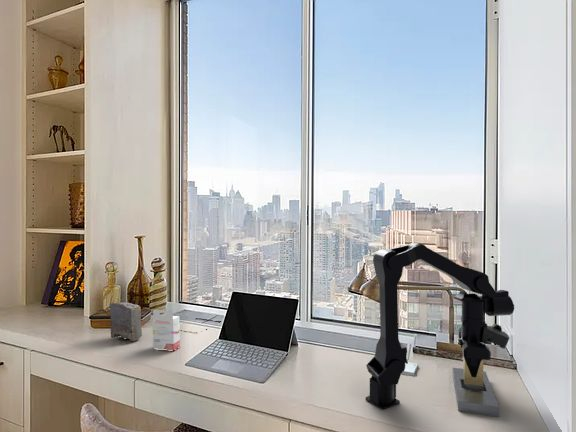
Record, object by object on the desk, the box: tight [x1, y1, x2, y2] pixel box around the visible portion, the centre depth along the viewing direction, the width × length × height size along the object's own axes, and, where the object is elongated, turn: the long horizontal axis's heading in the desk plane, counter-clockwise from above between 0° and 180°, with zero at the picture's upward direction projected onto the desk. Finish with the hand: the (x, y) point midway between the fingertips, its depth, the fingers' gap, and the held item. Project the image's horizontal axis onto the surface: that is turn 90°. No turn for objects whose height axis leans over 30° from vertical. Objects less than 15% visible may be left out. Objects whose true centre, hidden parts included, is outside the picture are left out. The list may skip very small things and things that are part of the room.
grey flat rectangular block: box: [452, 367, 500, 418], centre depth 106 cm, size 22×9×2 cm, turn 161°
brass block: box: [462, 355, 484, 386], centre depth 106 cm, size 4×4×7 cm
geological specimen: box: [109, 301, 143, 342], centre depth 152 cm, size 11×6×15 cm, turn 67°
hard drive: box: [401, 361, 419, 377], centre depth 125 cm, size 2×8×12 cm
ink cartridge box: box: [152, 309, 181, 351], centre depth 142 cm, size 9×5×15 cm, turn 76°
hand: (472, 373), depth 106 cm, fingers closed on brass block, 4 cm apart
